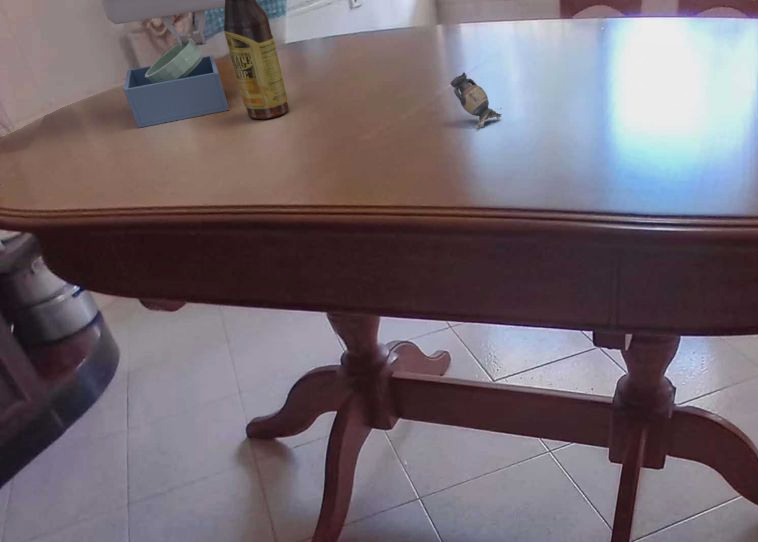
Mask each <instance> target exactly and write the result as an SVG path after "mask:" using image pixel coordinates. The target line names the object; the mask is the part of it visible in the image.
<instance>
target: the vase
mask: <svg viewBox="0 0 758 542" xmlns="http://www.w3.org/2000/svg"><path fill="white" fill-rule="evenodd" d="M468 74H470V72H468ZM450 86H451V87H453V88H454V89H453V93H454V95H455V96H456V98H457V99H458V100H459V102H460V105H461V107H462V108H463V109H464V111H465V112H467V113H468V114H469V115H472V116H476V117H478V118H479V121H478V123H477V124H476V125H473V126H472V127H469V129H470V130H472V129H473V128H474V130H475V132H477V130H478V129H480V128H485V122H486V120H488V119H493V118H496V119H497V120H499V119H501V117H502V115H503V113H498V112H497V111H499V112H500V111H501V110H502V109H503V108H502V107H500V108H495V110H494V109H492V108H490V107H489V105H490V102H489V98H488V95H487V93H486V91H485V90H484V88H483V87H482V86H480V85H478V84H477V83H476V82H475V80H473V79H472V78H467V74H466V72H463V73H462V74H461V75H458V76H455V78H453V79H452V81H451V82H450ZM496 110H497V111H496Z"/></svg>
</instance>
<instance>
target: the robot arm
mask: <svg viewBox="0 0 758 542" xmlns="http://www.w3.org/2000/svg"><path fill="white" fill-rule="evenodd" d="M100 1H101V5H102V8H103V11H104V14H105V16H106V18H107V20H109V22H111V23H112V24H114V25H122V24H127V23H134V22H140V21H145V20H152V19H159V18H161V20H162V23H163V26H164V27H165V28H166V29H167V30H168V31H169V32H170V34H172V35H173V36H174V37H175V38H176V40H177V44H179V47H180V48H185V46H186V45H187V44H188V42H189V41H188V36H187V32H180V31H178V29H177V28H175V26H174V22H175V21H174V17H173V16H176V15H177V16H178V15H184V14H190V13H194V16H195V18H196V20H197V21H199V22H198V27H197V30H194V31H192V35H193V39H194V42H195V43H196V45H197V46H203V45H207V41H206V38H205V37H206V36H205V34H204V32H205V27H206V22H207V19H208V18H207V15H206V12H205V11H209V10H215V9H220V8H225V0H100Z"/></svg>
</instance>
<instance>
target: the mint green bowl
mask: <svg viewBox="0 0 758 542" xmlns="http://www.w3.org/2000/svg"><path fill="white" fill-rule="evenodd" d="M187 39H188V41H189V42H188V44H187V45H186V46H185V48H180V47H179V44H178V43H177V44H175V45H174V46H172V47H171V48H169V50H167V51H166V52H164V54H163V55H161V56H160V57H159V58H158V59H157V60H156V61H155V62H154V63H153V64H152V65H150V66H151V67H150V69H149V70H148V71H147V72H146V74H145V78H146V79H147V80H148V81H149V82H150V83H151V84H155V83H160V82H166V81H171V80H177V79H182V78H185V77H186V76H187V75H188V74H189V73H190V72H191V71H192V70H193V69H194V68H195V67H196V66H197V65H198V64H199V63H200V61H201V60H202V58H203V57H204V56H203V50H202V49H201V48H200V46H199V45H196V42H195V40H193V39H192V37H187Z"/></svg>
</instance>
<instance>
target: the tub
mask: <svg viewBox="0 0 758 542" xmlns="http://www.w3.org/2000/svg"><path fill="white" fill-rule="evenodd" d="M151 66H152V65H148V66H142V67H137V68H131V69H127V71H126V75H125V81H124V87H123V92H124V95H125V97H126V101H127V103H128V105H129V107H130V111H131V113H132V116H133V118H134V121H135V123H136V125H137V128H138V129H140V128H145V127H151V126H156V125H160V124H161V125H162V124H166V123H171V122H170V121H172V122H177V121H182V120H187V119H192V118H196V117H201V116H206V115H212V114H216V113H223V112H227V110H228V111H230V106H229V103H228V100H227V97H226V93H225V88H224V86H223V82H222V80H221V76H220V73H219V70H218V67H217V63H216V60H215V57H214V54H211V55H205V56H203V58H202V60H201V61H200V63H199V64H198V65H197V66H196V67H195V68H194V69H193V70H192V71H191V72H190V73H189V74H188V75H187V76H186V77H185V78H182V79H177V80H171V81H166V82H160V83H155V84H151V83H150V82H149V81H148V80H147V79H146V78H145V74H146V72H147V71H148V70H149V69H150V67H151ZM176 120H177V121H176ZM165 122H166V123H165Z"/></svg>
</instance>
